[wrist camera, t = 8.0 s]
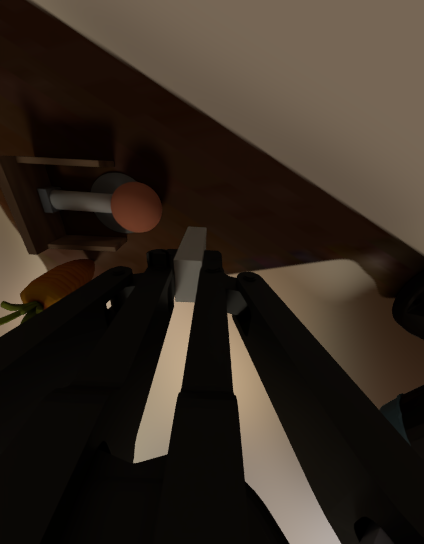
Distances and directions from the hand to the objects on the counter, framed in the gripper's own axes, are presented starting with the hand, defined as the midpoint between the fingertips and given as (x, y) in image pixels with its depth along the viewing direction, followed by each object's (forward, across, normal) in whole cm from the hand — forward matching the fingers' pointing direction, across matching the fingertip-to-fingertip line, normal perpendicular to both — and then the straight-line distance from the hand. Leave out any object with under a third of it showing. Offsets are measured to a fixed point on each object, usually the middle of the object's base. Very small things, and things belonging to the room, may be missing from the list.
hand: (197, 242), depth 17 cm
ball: (+10, +8, -1) cm, 13 cm away
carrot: (+13, +18, +8) cm, 23 cm away
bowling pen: (+13, +16, 0) cm, 21 cm away
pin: (+11, +12, -1) cm, 17 cm away
